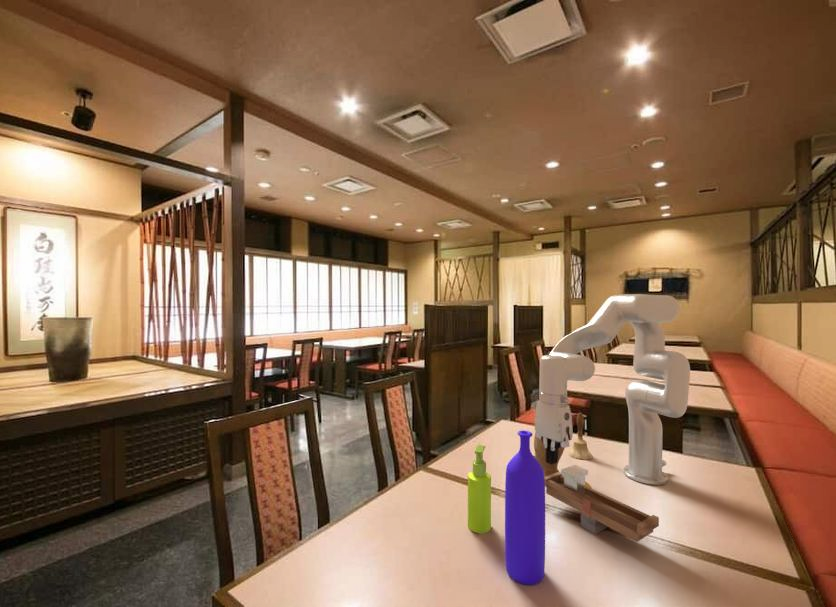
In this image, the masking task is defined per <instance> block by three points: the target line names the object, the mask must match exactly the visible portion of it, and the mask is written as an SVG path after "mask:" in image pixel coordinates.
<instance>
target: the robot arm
mask: <svg viewBox="0 0 836 607" xmlns="http://www.w3.org/2000/svg"><path fill="white" fill-rule="evenodd" d="M679 315H680V304H679V301H677V299H676V298H675V297H673V296H672V295H665V294H664V295H663V294H662V295H661V294H659V295H658V294H640V293H634V294H633V293H632V294H631V293H630V294H629V293H628V294H627V293H625V294H614V295H611V296H609V297H607V299H606V300H605V301H604V302H603V304H602V305H601V306H600V307H599V308H598V310H597V311H596V312H595V314H594V315H593V316H592V317H591V318H590V320H589V321H588V322H587V323H586V324H585V325H584V326H581V327H579V328H577V329H576V330H574V331H572V332H570V333H569V334H567V335H565V336H564V337H563V338H562V339H560V340H559V341H558V342H557V344H556V345H555V346H554V347H553V349H551V351H550V353H549V354H545V355H542V356H541V357H540V359H539V381H538V382H539V384H538V386H539V387H538V392H539V393H538V400H537V401H536V402H537V404H536V407H535V414H534V415H535V416H534V431H535V432H536V436H537V437H538V438H540V439H541V440H542V442H543V443H544V447H545V448H546V462H547V463H549V464H554V463H557V462H558V449H560V448H561V447H564V448H565V449H566V448H568V447H571V445H570V441H572V440H573V418H572V410H571V408H570V405H569V404H570V402H571V399H570V398H568V381H575V382H585V381H588V380H589V379H591V378H592V377H593V376H594V374H595V371H596V366H595V363H594V362H593V359H591V358H589V357H588V356H586V355H582V354H578V353H581V352H583V351H585V350H588V349H593V348H598V347H601V346H605V345H608V344H610V343H612V342H613V340H614V339H615V338H616V337H617V335H618V333H619V332H620V331H621V329H622V328H623V327H624V325H625V324H626V323H628V322H629V323H630V325H631V326H632V328H633V330H634V337H635V339H634V349H633V361H632V362H633V364H632V366H633V370H634V372H635V373H636V374H637V375H639V376H642V377H645V378H650V379H657V380H661V381H664V383H663V384H662V383H658V382H653V381H650V380H649V381H647V380H642V379H637V380H636V379H635V380H632V381H631V382H629V383H628V384H627V386H626V388H625V400H626V405H627V409H628V464H627V465H625V466H623V473H624V475H625V476H626V477H628V478H629V479H631V480H633V481H635V482H638V483H643V484H647V485H654V486H658V485H659V486H660V485H665V484H667V483H668V482H669V478H668V475H667V474H666V473H665V472H663V467H665V466H667V461H665V460H664V459H663V424H662V421H661V418H660V416H659V415H661V416H665V417H667V418H668V417H669V418H674V419H675V418H676V419H678V418H680V417H682V416H683V415H684V414H685V413H686V411H687V409H688V402H689V394H690V392H689V391H690V378H691V366H690V362H689V359H688V358H687V357H686V355H684V353H681V352H679V351H674V350H673V351H672V350H666V347H665V346H666V335H665V331H664V329H663V327H662V326H661V324H663V323H664V324H665V323H666V324H667V323H671V322H673V321H675V320H676V319H677V318H678V317H679ZM660 323H661V324H660ZM535 432H534V433H535ZM558 463H559V462H558Z"/></svg>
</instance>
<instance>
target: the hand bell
mask: <svg viewBox="0 0 836 607" xmlns="http://www.w3.org/2000/svg"><path fill="white" fill-rule="evenodd" d="M584 425H585V419H584V415H583V413H582V412H578V413H577V416H576V426H577V438H576V439H574V440H573V443H572V444H573V445H572V447H571V449H570V450H569V452H568V455H569V456H570V457H571V458H574V459H576V460H577V459H578V460H584V461H585V460H591V459H592V458H593V455H592V453H591V452H590V451H589V448H588V443H587V441H586V439H585V440H584V438H583V437H584V436H583V429H584V427H585V426H584Z"/></svg>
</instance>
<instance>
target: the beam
mask: <svg viewBox="0 0 836 607" xmlns="http://www.w3.org/2000/svg"><path fill="white" fill-rule="evenodd" d="M544 478H545V495H546V494H547V495H548V496H550V497H552V498H554V499H556V500H557V501H560V502H562V503H564V504H566V505H567V506H569V507H571V508H573V509H575V510H577V511H578V512H580V527H581V528H584V529H585V530H587V531H588V532H590V533H593V534H594V535H597V534H599V533H601V532H602V531H604V530H606V529H607V527H608V528H610V529H612V530H614V531H616V532H618V533H619V534H622V535H623V536H625V537H627V538H629V539H631V540H633V541H635V542H636V543H637V542H639V541H641V540H643V539H645V537H648V536H649V535H651V534H652V533H654V530H655V529H657V528H658V527H659V526H660V517H659V516H657V515H654V514H652V515H649V514H647V513H645V512H643V511H641V510H638V509H636V508H635V507H632V506H630V505H628V504H626V503H623V502H621V501H620V500H617V499H614V498H613V497H610V496H608V495H606V494H604V493H601V492H599V491H597V490H596V489H593V488H592V487H591V488H592V489H591V488H589V487H587V486H585V494H584V495H581V494H579V493H577V492H575V491H573V490H571V489H568V488H566V487H564V475H562V474H561V471H559V472H557V473H554V474H551V475H549V476H546V477H544Z"/></svg>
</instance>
